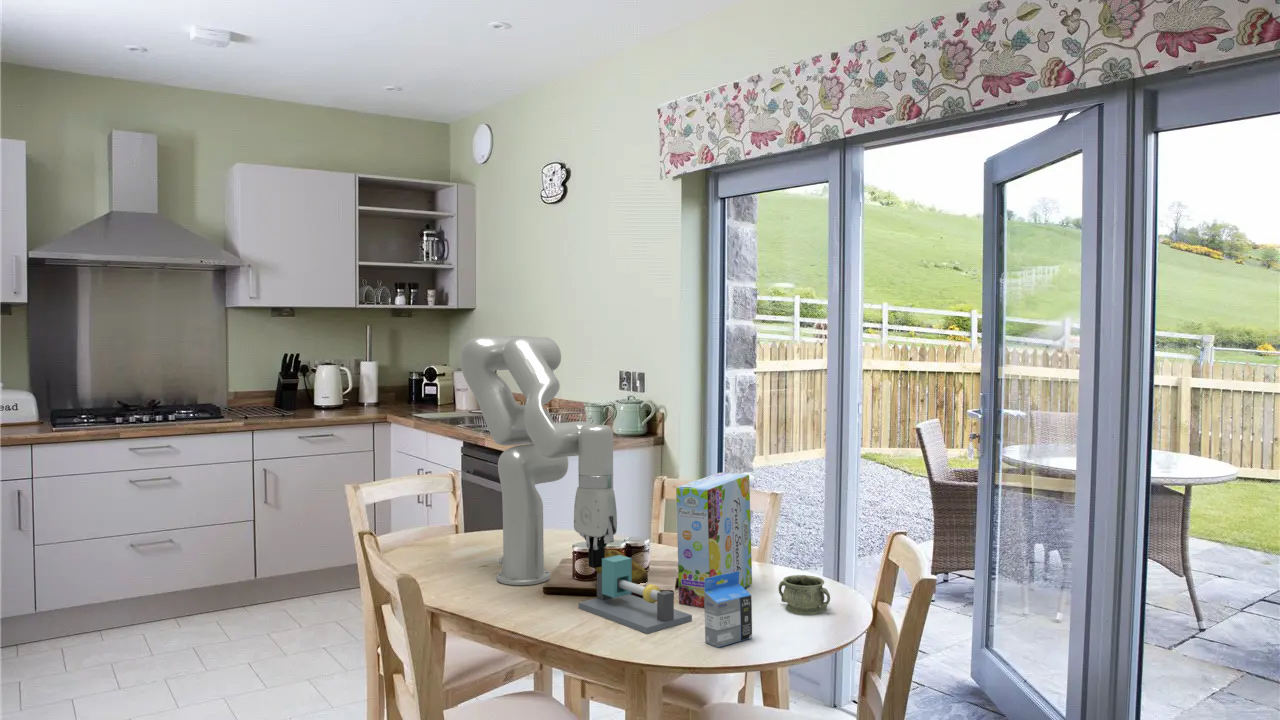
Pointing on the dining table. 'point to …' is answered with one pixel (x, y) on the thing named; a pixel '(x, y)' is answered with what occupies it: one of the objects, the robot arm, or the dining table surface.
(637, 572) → the potato
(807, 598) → the vessel
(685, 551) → the snack box
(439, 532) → the dining table surface
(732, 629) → the label tape box
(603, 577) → the teal sliding cube
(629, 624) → the slider rail stand
